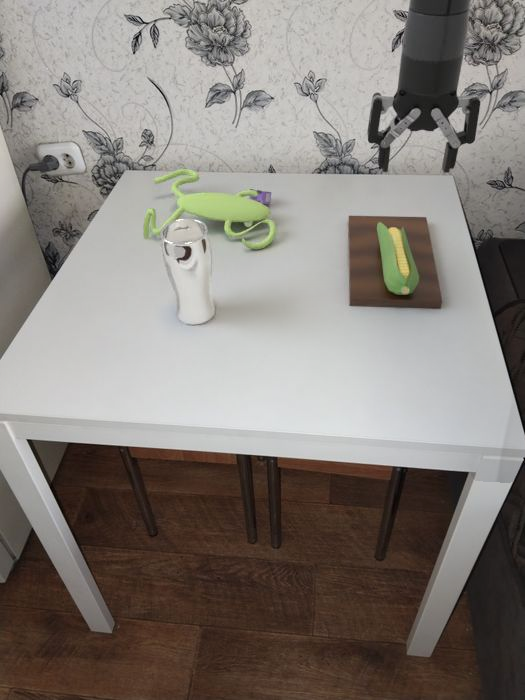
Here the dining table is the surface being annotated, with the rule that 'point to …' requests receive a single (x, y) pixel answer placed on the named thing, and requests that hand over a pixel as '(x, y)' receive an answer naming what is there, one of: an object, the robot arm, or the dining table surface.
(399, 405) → the dining table surface
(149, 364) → the dining table surface
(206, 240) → the beer glass
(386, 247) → the edible corn
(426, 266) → the serving board
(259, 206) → the figurine
